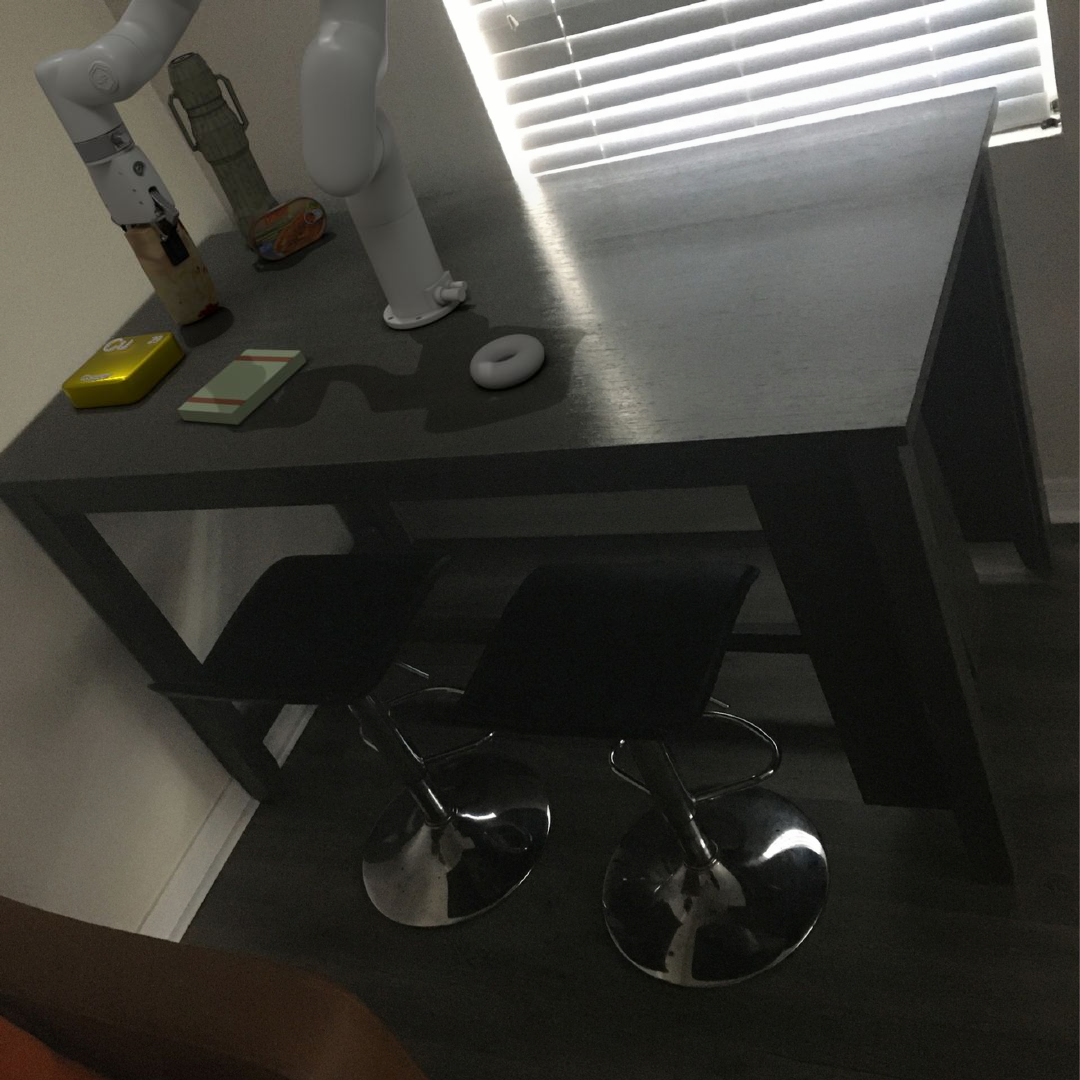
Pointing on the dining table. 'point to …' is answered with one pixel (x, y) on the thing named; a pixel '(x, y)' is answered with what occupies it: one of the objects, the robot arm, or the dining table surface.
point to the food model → (187, 289)
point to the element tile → (123, 370)
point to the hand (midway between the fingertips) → (169, 260)
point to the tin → (287, 227)
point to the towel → (242, 386)
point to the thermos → (219, 137)
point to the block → (154, 249)
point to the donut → (507, 361)
